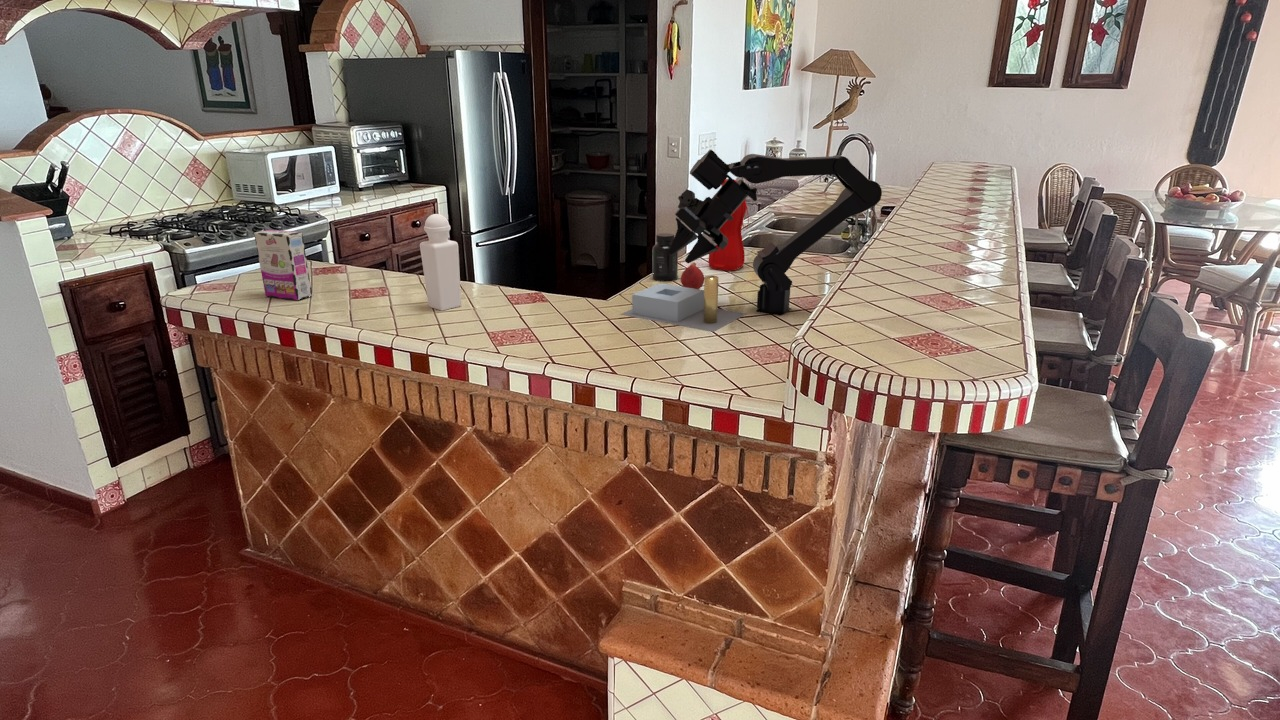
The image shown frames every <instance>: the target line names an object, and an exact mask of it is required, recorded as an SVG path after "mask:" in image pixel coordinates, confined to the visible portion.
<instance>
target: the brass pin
mask: <svg viewBox="0 0 1280 720" xmlns="http://www.w3.org/2000/svg"><path fill="white" fill-rule="evenodd" d="M703 285H704V288H703V290H704V316H703V322H704V323H707V324H714V323H717V309H718V307H719V306H718V305H719V303H718V301H719V276H715V275H704V283H703Z"/></svg>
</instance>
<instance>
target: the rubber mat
mask: <svg viewBox="0 0 1280 720" xmlns="http://www.w3.org/2000/svg"><path fill="white" fill-rule="evenodd" d="M620 315H621V316H627V317H632V318H637V319H643V320H648V321H652V322H653V321H654V322H657V323H663V324H669V325H674V326H678V327H679V326H680V327H684V328H690V329H696V330H701V331H704V332H705V331H706V332H711V333H714V332H716V331H718V330H720V329H723V328H724V327H726V326H727V325H729V324H731V323H733V322H734V321H736V320H738V319H740V318H741V317H743V316H745V315H747V313H746V312H740V311H733V310H729V309H722V308H717V323H714V324H707V323H704V322H703V316H704V309H703V310H701V311H699V312H697V313H695V314H693V315H691V316H689V317H686V318H684V319H682V320H680V321H678V322H675V321H670V320H665V319H659V318H654V317H649V316H643V315H638V314H633V313H632V308H631V309H628V310H627V311H625V312H622V313H620Z"/></svg>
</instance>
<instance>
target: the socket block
mask: <svg viewBox="0 0 1280 720" xmlns="http://www.w3.org/2000/svg"><path fill="white" fill-rule="evenodd" d="M631 300H632V301H631V302H632V306H631V309H632V313H633V314H638V315H643V316H649V317H654V318H659V319H665V320H670V321H675V322H678V321H680V320H682V319H684V318H686V317H689V316H691V315H693V314H695V313H697V312H699V311H701V310H703V309H704V289H701V288H700V289H693V288H687V287H683V286H681V285H675V284H674V285H673V284H667V283H658V284H655V285H653V286H650V287H647V288H645V289H642V290H640V291H637V292H635V293H632V295H631Z"/></svg>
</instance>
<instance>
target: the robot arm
mask: <svg viewBox="0 0 1280 720" xmlns="http://www.w3.org/2000/svg"><path fill="white" fill-rule="evenodd" d="M729 173H730V174H732V176H734V177H736V178H742V179H744V180H746V181H747V182H749V183H751V184H755V185H756V184H757V185H758V184H762V183H767V182H770V181H774V180H777V179H781V178H785V177H804V176H805V177H809V176H813V177H814V176H829V175H830V176H835V177H836V179H837V180H838V181H839V182H840V184H841V185H842V186H843V187H844V189H843V190H842V191H841V193H840V194H839V196H838V197H837V198H836V200H835V201H834V202H833V203H832V204H831V205H830V206H829V207H828V208H826V209H825V210H824V211H822V212H821V213H820V214H819V215H817V216H816V217H815V218H813V219H812V220H810V221H809V222H808V223H807V224H806V225H805V226H803V227H802V228H800V229H799V230H798V231H797V232H795V233H794V234H793V235H791V236H790V237H789V238H788V239H786V240H785V241H784V242H782V243H780V244H775V243H774V242H773V241H770V242H768V243H767V245H766V246H765V247H763V248H762V249H761V250H757V252H756V253H757V255H756V256H755V257H754V258H753V261H752V269H753V271H754V273H755V274H756V276H757V277H758V278H759V279H760V280H761V282H762V283H761V284H760V285H759V290H757V296H756V297H757V299H756V300H757V301H756V307H757V308H756V309H755V312H757V313H761V314H762V313H763V314H769V315H774V316H780V317H781V316H783V315H785V314H786V313H788V312H790V311H791V310H792V309H793V308H792V307H790V298H791V286H792V285H793V281H792V280H791V279H790V277H788V275H787V274H786V272H787V271H789V269H790V267H791V266H792V265H793V264H794V261H795V260H796V259H797V258H798V257H799V256H801V255H802V254H803V253H804V252H805V251H807V250H809V248H811V247H812V246H813V245H814V244H816V243H817V242H818V241H820V240H821V239H822V238H824V237H825V236H826V235H828V234H829V233H830V232H831V231H833V230H834V229H835V228H836V227H838V226H839V225H840V224H841V223H843V222H844V221H846V219H848V218H850V217H853V216H856V215H858V214H861V213H864V212H867V210H869V209H871V208H873V207H875V206H876V205H878V203H879V202H881V200H882V193H883V190H882V187H881V185H880V184H879V183H878V182H876V181H875V180H872V179H869V178H867V177H866V176H865V174H863V173H862V172H861V171H860V170H859V169H858V168H857V167H856V166H854V165H853V163H852V162H851V161H850V159H849V158H847V157H846V156H843V155H839V154H836V155H831V156H811V157H809V156H808V157H807V156H806V157H782V158H781V157H776V156H770V155H769V156H768V155H763V154H758V153H757V154H756V153H749V154H746V155H745V156H744V157H742V159H741V160H740V161H736V162H730V163H728V164H727V163H726V162H725V161H724V160H722V158H720V157H719V156H718V154H717V153H716V152H715V151H713V149H709V150H708V151H707V152H706V153H704V155H703V156H701V157H700V159H698V160H697V161H696V162H695V164H693V166H692V168H691V169H690V171H689V174H690V175H691V176H692V177H693V178H694V179H695V180H697V181H698V182H699V183H700V184H701V185H702V186H704V188H706V189H707V190H708V191H710V190H712V189H714V190H718V191H716V193H714V195H713V196H712V198H711V197H710V196H706V197H705V198H704V199H703V200H701V199H698V197H696V193H695V192H694V191H692V190H690V189H685V190H684V191H683V192H682V193H681V195H679V196H678V197H677V199H678V200H679V203H678V206H677V208H678V209H677V210H676V212H675V213H674V216H676V217H675V221H676V226H677V230H676V232H675V234H674V240H673V242H672V244H671V247H670V249H669V251H668V252H669V253H670V254H671V255H673V254H675V253H676V252H678V253H679V252H680V251H681V250H682V249H684V248H686V246H688V245H690V244H692V243H693V242H694V241H696V240H697V241H696V242H695V244H694V246H693V247H692V248H691V250H690V252H688V255H686V258H685V260H684V261H685V263H686V264H691V263H693V262H695V261H697V260H699V259H701V258H703V257H705V256H707V255H708V256H709V254H710V253H712V252H715V251H719V249H718V248H717V247H716V245H717V246H718V247H719V248H721V249H722V250H723V249H724V248H725V247H726V245H727V244H728V238H727V237H726V236H725V235H724V234H723V233H721V231H720V230H719V229H720V228H721V227H722V226H723V225H724V223H725V222H726V221H727V220H730V221H731V220H732V219H733V217H732V216H731V215H732V214H733V213H734V212H735V211H736V209H737V208H738V207H739V206H740V205H741V204H742V202H743V201H744V200H746V199H747V198H748V197H749V198H750V199H751V200H752V201H754V202H757V200H758V198H757V190H758V188H756V186H751V187H750V186H749V185H748V184H747V183H746V182H744V180H742V179H739V180H736V181H737V182H736V181H734V180H735V179H734V180H733V178H732V177H731V176H730V175H729ZM726 179H728V180H727V181H726V182H725V183H724V184H723V186H722V187H721V185H722V183H723V182H724V181H725V180H726ZM716 196H717V197H716ZM731 209H732V210H733V211H732V210H731Z"/></svg>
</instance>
